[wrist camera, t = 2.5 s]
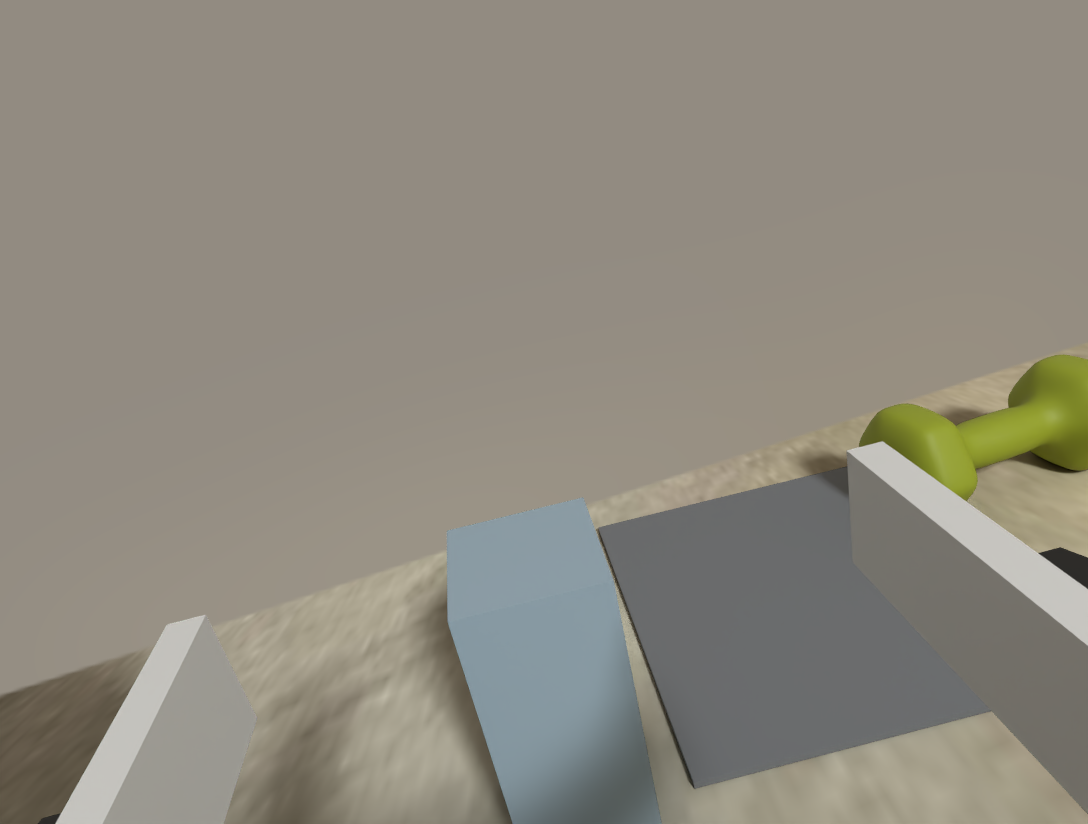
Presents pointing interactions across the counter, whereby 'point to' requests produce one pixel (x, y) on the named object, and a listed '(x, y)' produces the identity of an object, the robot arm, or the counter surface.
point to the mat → (774, 631)
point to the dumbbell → (996, 427)
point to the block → (550, 667)
